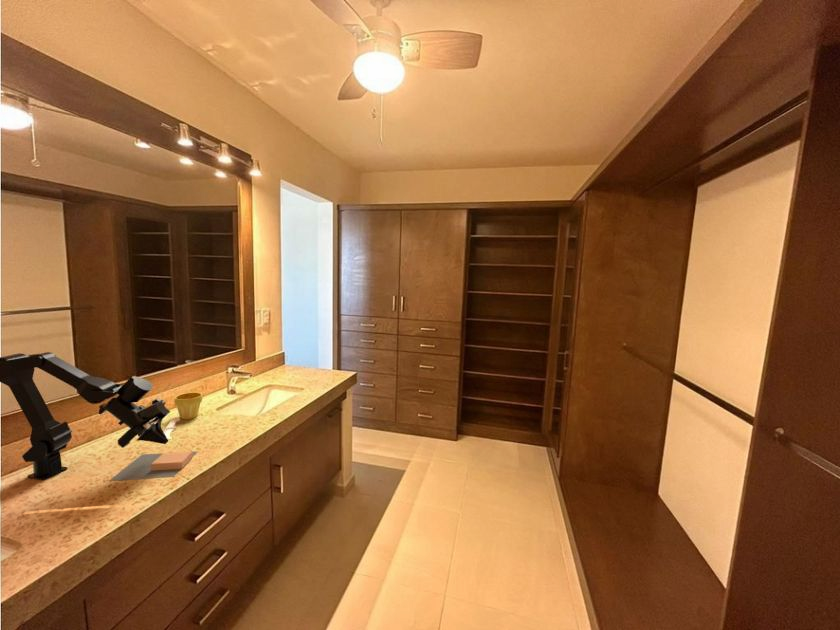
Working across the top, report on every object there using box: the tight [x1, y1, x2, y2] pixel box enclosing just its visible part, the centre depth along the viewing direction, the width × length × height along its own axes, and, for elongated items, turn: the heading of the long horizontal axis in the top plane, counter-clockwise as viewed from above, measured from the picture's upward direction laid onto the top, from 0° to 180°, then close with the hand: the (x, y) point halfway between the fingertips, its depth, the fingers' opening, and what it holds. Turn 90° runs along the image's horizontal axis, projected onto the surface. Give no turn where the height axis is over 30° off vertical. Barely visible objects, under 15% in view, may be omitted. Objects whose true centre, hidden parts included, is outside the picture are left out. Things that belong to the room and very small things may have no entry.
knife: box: [163, 417, 181, 440], centre depth 136 cm, size 30×2×8 cm
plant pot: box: [174, 391, 203, 420], centre depth 153 cm, size 10×10×10 cm
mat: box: [108, 450, 199, 482], centre depth 113 cm, size 18×16×1 cm
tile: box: [151, 451, 194, 470], centre depth 114 cm, size 2×7×9 cm
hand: (166, 442), depth 113 cm, fingers closed
